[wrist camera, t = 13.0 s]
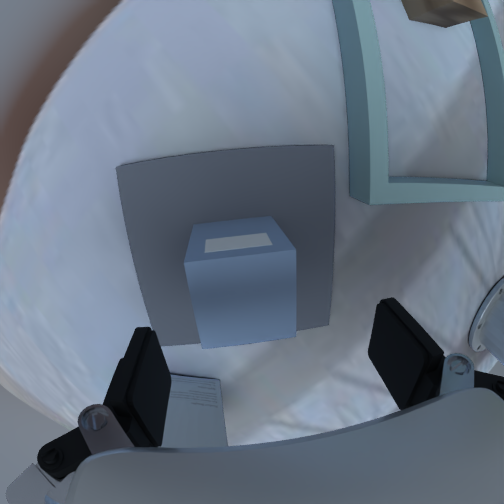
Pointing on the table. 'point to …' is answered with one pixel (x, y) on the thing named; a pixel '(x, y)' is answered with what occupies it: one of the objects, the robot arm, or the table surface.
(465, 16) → the walnut block
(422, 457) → the robot arm
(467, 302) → the table surface
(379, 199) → the tray
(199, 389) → the skincare box
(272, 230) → the slate box
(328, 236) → the mat
